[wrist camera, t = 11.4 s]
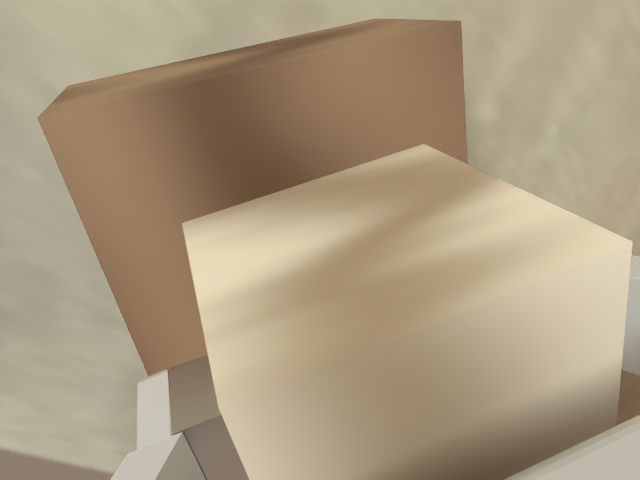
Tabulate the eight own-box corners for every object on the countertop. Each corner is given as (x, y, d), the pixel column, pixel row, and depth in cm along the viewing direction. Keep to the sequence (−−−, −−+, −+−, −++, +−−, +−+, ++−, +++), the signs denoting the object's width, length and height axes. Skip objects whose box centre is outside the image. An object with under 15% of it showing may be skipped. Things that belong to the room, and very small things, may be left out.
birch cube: (424, 143, 10) (632, 241, 6) (447, 335, 13) (609, 506, 8) (181, 223, 9) (218, 408, 5) (255, 413, 12) (323, 652, 7)
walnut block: (371, 18, 16) (460, 21, 11) (400, 267, 20) (474, 338, 15) (69, 84, 14) (37, 117, 9) (170, 343, 18) (180, 449, 14)
